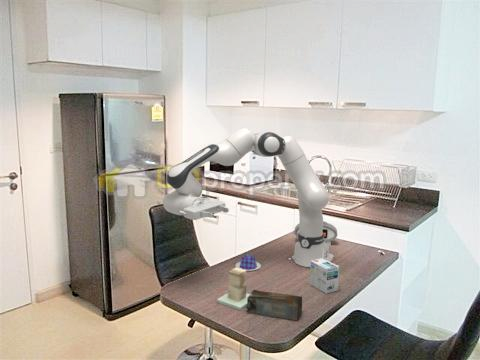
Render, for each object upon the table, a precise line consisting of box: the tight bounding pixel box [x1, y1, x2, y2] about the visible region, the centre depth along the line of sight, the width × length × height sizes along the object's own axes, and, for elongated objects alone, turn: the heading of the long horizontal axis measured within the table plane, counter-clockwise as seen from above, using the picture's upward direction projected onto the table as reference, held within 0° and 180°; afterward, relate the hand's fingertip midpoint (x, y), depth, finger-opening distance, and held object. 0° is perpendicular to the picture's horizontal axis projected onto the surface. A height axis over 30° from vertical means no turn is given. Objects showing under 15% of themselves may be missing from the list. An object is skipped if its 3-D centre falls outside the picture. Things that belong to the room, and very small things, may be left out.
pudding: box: [235, 254, 262, 272], centre depth 189 cm, size 12×12×5 cm
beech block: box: [227, 266, 248, 302], centre depth 154 cm, size 5×5×11 cm
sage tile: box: [216, 292, 251, 311], centre depth 155 cm, size 11×11×1 cm
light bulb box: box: [309, 258, 340, 294], centre depth 167 cm, size 11×7×11 cm, turn 30°
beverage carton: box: [246, 289, 303, 322], centre depth 147 cm, size 8×19×7 cm, turn 72°
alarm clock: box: [293, 220, 338, 246], centre depth 222 cm, size 23×6×13 cm, turn 79°
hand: (220, 212), depth 161 cm, fingers open, 8 cm apart
